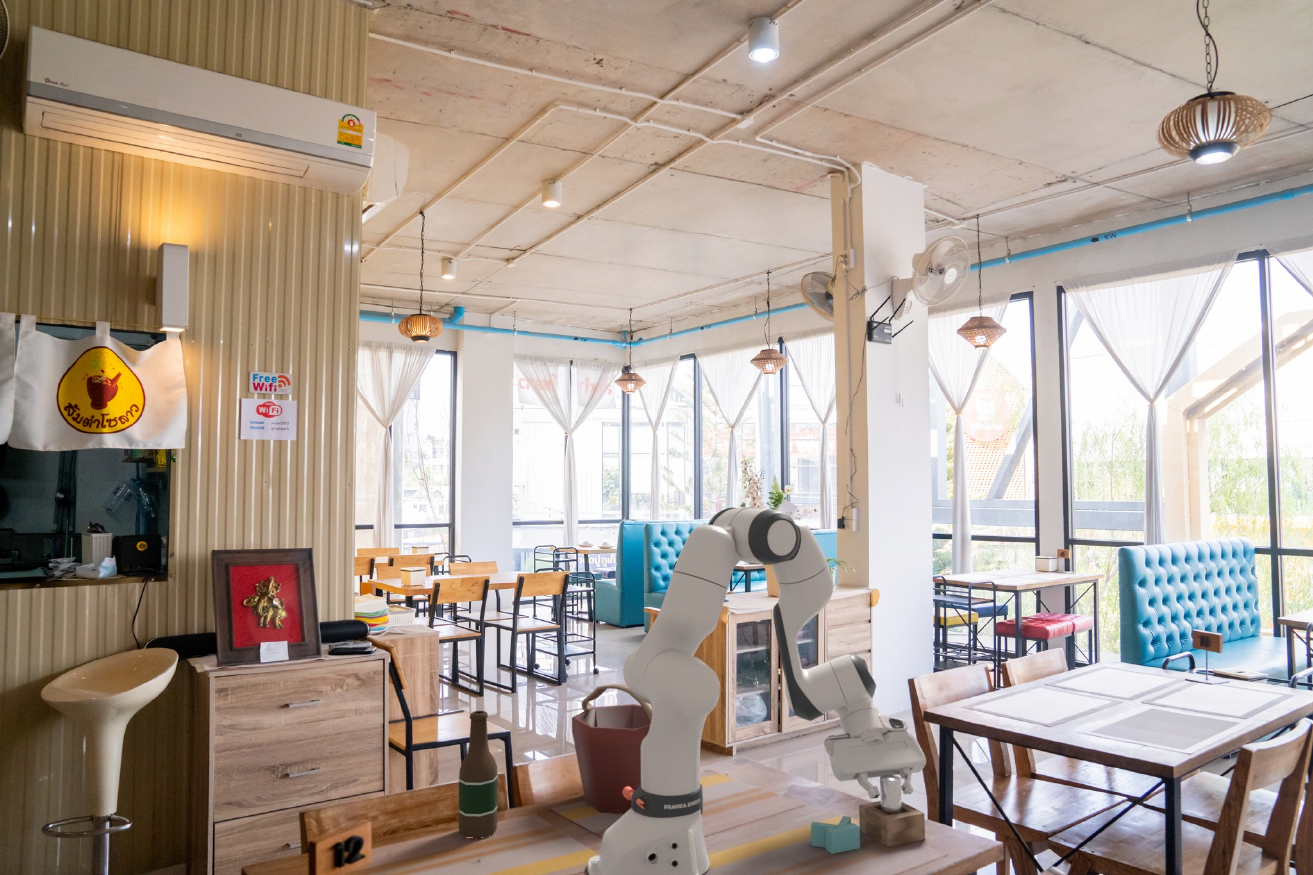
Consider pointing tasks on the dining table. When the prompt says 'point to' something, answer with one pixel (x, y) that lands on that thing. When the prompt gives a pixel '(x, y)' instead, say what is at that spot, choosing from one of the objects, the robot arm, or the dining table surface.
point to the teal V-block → (836, 836)
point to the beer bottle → (478, 783)
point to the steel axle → (890, 794)
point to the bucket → (610, 749)
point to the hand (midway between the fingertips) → (892, 795)
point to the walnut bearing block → (892, 824)
